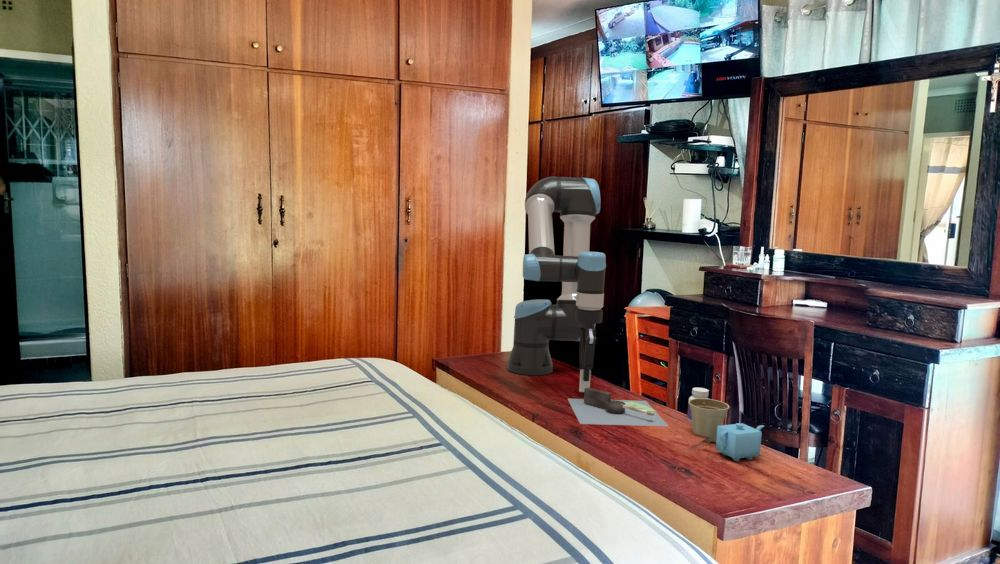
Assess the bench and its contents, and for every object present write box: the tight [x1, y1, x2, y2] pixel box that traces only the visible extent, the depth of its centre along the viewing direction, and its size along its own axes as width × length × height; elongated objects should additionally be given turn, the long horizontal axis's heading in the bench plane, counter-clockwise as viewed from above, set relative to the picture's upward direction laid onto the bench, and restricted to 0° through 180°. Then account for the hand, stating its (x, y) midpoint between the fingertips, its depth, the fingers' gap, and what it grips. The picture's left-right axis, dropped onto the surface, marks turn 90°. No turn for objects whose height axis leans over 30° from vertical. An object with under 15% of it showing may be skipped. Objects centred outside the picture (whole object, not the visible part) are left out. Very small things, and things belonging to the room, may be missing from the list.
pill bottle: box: [686, 387, 710, 424], centre depth 171 cm, size 5×5×10 cm
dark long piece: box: [583, 387, 654, 416], centre depth 176 cm, size 21×5×4 cm, turn 48°
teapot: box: [715, 422, 765, 462], centre depth 152 cm, size 12×6×8 cm, turn 111°
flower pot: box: [687, 398, 730, 443], centre depth 163 cm, size 9×9×9 cm
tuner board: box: [567, 398, 670, 427], centre depth 177 cm, size 22×22×2 cm
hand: (584, 391), depth 189 cm, fingers closed
